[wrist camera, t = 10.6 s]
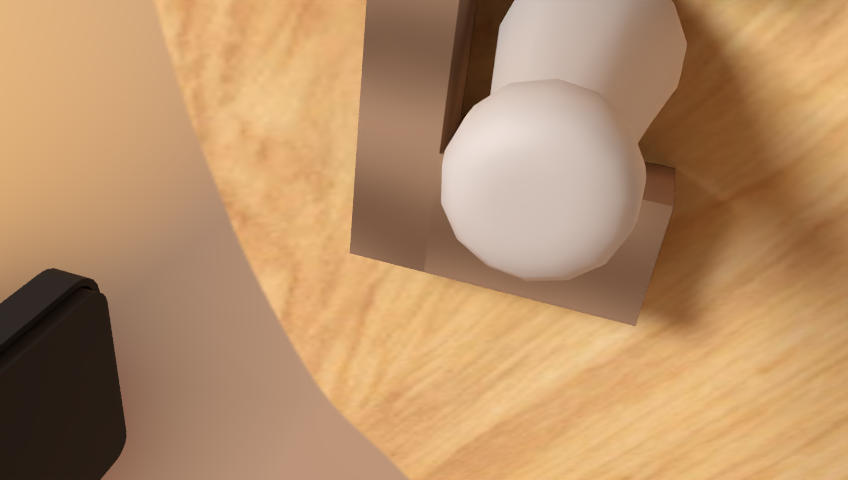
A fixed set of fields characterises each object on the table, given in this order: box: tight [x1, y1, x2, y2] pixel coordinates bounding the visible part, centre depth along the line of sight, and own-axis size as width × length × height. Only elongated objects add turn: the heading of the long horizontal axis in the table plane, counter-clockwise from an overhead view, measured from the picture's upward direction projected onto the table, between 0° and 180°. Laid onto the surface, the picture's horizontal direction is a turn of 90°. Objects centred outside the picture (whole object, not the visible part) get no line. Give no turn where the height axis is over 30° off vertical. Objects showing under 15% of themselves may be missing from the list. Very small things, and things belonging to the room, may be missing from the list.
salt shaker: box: [441, 0, 687, 281], centre depth 21 cm, size 6×6×13 cm
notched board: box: [350, 0, 675, 326], centre depth 25 cm, size 18×11×3 cm, turn 175°
